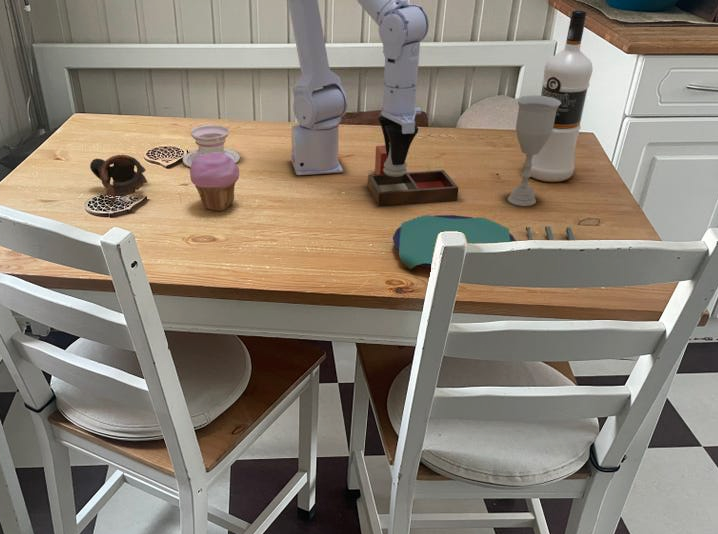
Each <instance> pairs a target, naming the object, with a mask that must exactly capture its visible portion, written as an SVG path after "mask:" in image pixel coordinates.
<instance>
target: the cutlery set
mask: <svg viewBox="0 0 718 534" xmlns="http://www.w3.org/2000/svg"><path fill="white" fill-rule="evenodd" d="M572 230H573V229H572V227H566V229H565V233H566V236H567V239H568V241H569V240H574V241H575V237H574V233H573V231H572ZM444 231H458V232H462V233H464V234H465V236H466V239H467V242H468V243H473V244H474V243H498V242H511V241H516V242H517V240H516V238H515V237H514V235H513V234H511V233H510V229H509V228H508V227H506V226H504V225H502V224H500V223H498V222H496V221H493V220H490V219H488V218H486V217H473V216H463V215H456V214H455V215H454V214H444V215H443V214H441V215H438V214H437V215H428V214H426V215H424V214H423V215H421V216H417V217H414V218H412V219H409V220H405V221H403V222H402V223H400V226H399V227H398V228H397V229H396V230H395V232H394V234H393V236H392V242H393V245H394V249H395V250H396V251H397V252H398V256H399V259H400V260H401V262H402V264H403V265H404V266H405V267H407V268H408V269H409V270H411V269H413V268H414V267H416V266H419V265H420V266H422V267H426V268H429V269H432V268H431V263H432V257H433V252H434V247H435V242H436V238H437V235H438V233H440V232H444ZM525 231H526V232H527V234H528V240H534V238H533V236H532V233H531V226H526V227H525ZM544 231H545V233H546V236H547V238H548V239H547V240H548V241H549V240H554V237H553V232H552V227H551V226H550V225H549V226H548V225H547V226H546V225H545V227H544Z"/></svg>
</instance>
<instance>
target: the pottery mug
mask: <svg viewBox="0 0 718 534" xmlns="http://www.w3.org/2000/svg"><path fill="white" fill-rule="evenodd" d="M135 167H136V171H135ZM89 168H90V170H91V172H92V174H93V175H94V176H95V177H96V178H98V179H99V180H100V181H101V184H102V186H103V187H105V189H106V192H105V196H106V195H111V196H123V197H127V196H129V195H132V194H134V193H136V190H137V191H138V190H140V188H141V187H142V186H144V184H147V183H148V180H147V178H146V176H145V175H144V173H145V172H146V168H145V167H144V166H143V165H141V162H140V161H138V159H136V158H135V157H133V156H130V155H127V154H116V155H112V156H110V157H109V158H107V159H105V160H104V159H102V158H94V159H93V160H91V162H90V165H89ZM111 180H112V184H111ZM106 199H107V200H108V201H111V202H113V203H114V202H115V200H116V198H109V197H106Z"/></svg>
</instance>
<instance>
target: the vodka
mask: <svg viewBox="0 0 718 534" xmlns="http://www.w3.org/2000/svg"><path fill="white" fill-rule="evenodd" d="M587 14H588V11H587V10H586V9H585V10H584V9H574V10H571V14H570V19H569V25H568V29H567V36H566V40H565V41H566V42H565V44H564V49H562V50H561V51H559V52H557V53H555V54H554V55H552V56H551V57H549V58H548V60H547V61H546V63H545V65H544V68H543V69H544V72H543V79H542V87H541V93H540V96H547V97H552V98H555V99H558V100H559V101H561V104H560V105H559V107H558V108H557V110H556V116H555V121H554V126H553V131H552V133H551V135H550V137H549V138H548V140H547V142H546V143H545V145H544V146H543V147H542V149H541V150H540V151H539V153H538V154H535V155H533V157H532V165H533V166H532V167H531V168H530V174H531V176H530V177H531V178H532V179H534V180H536V181H541V182H546V183H559V182H560V183H561V182H563V181H564V182H565V181H566V180H568V179H570V178H571V177H572V176H573V174H574V171H575V166H576V165H575V157H576V147H577V141H578V137H579V133H580V130H581V122H582V117H583V112H584V108H585V102H586V98H587V93H588V89H589V87H590V81H591V78H592V74H593V63H592V60H591V59H590V58H588V57H587V56H586V55H585V54H584V53H583V52H582V51H581V45H582V39H583V34H584V30H585V24H586V19H587Z"/></svg>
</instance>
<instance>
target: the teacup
mask: <svg viewBox="0 0 718 534" xmlns="http://www.w3.org/2000/svg"><path fill="white" fill-rule="evenodd" d="M229 134H230V130H229V129H228V128H227V127H225V126H222V125H217V124H205V125H199V126H196V127H193V128H192V129H191V131H190V135H191V137H192V139H193V140H194V141H195V144H196V145H197V146H198V147H197V148H198V149H196V150H192V151H189V152H188V153H186V154H185V155H184V156H183V157H182V163H183V164H184V165H185V166H186V167H188V168H190V167H191V164H192V161H193V160H194V159H195V158H196V157H198V156H199V155H202V154H207V153H212V152H220V153H223V154H226V155H227V156H229V157H230V158H231V159H232V160H234V162H235V163H236V164H237V163H238V162H239V161H240V157H241V156H240V154H239V153H238V152H237V151H235V150H232V149H230V148H225V143H226V139H227V137H228V136H229Z"/></svg>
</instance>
